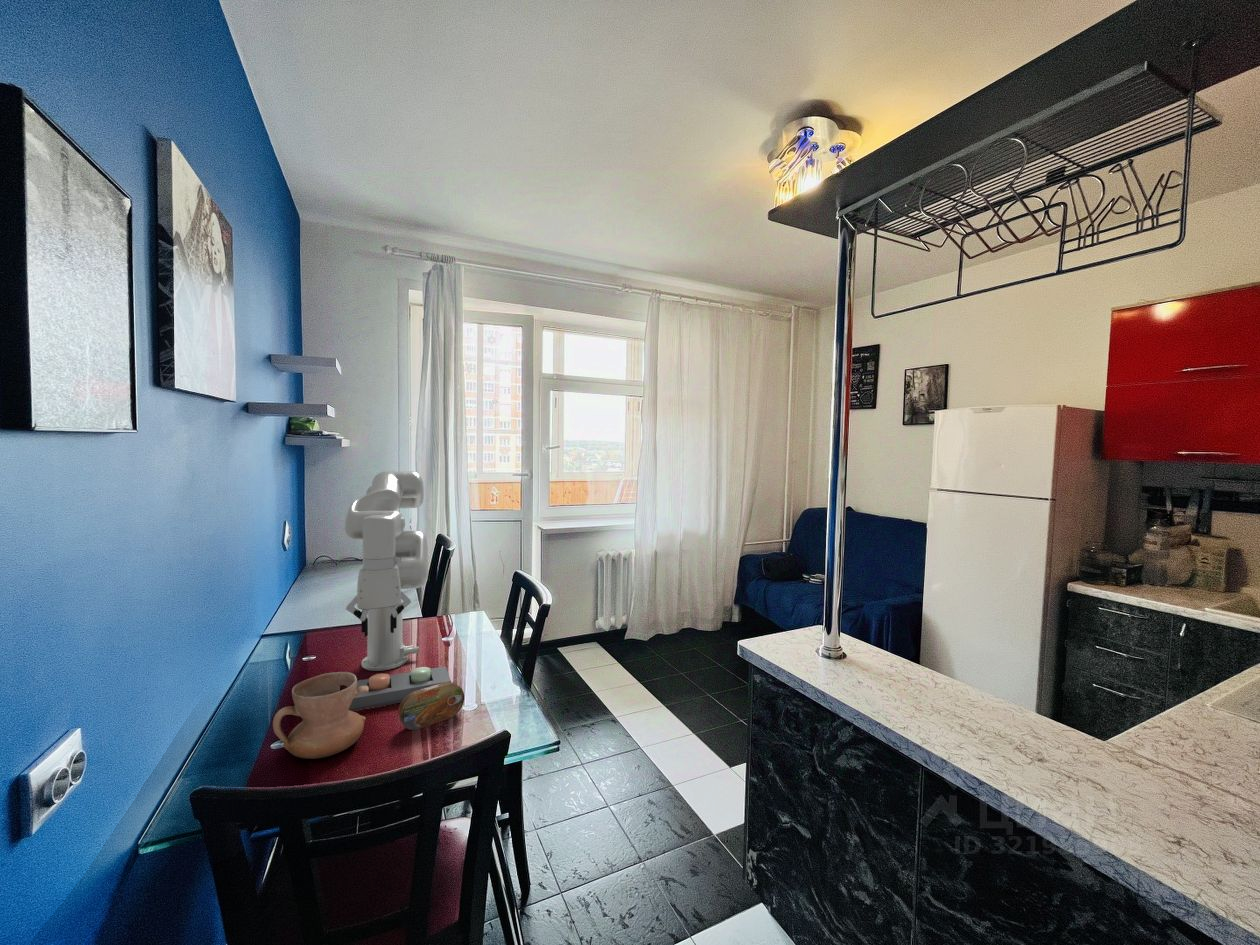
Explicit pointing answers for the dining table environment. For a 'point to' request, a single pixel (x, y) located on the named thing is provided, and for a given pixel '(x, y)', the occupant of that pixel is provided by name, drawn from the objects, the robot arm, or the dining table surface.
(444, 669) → the button panel
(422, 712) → the tin
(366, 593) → the robot arm
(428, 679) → the sage button
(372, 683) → the terracotta button
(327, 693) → the ceramic jug
